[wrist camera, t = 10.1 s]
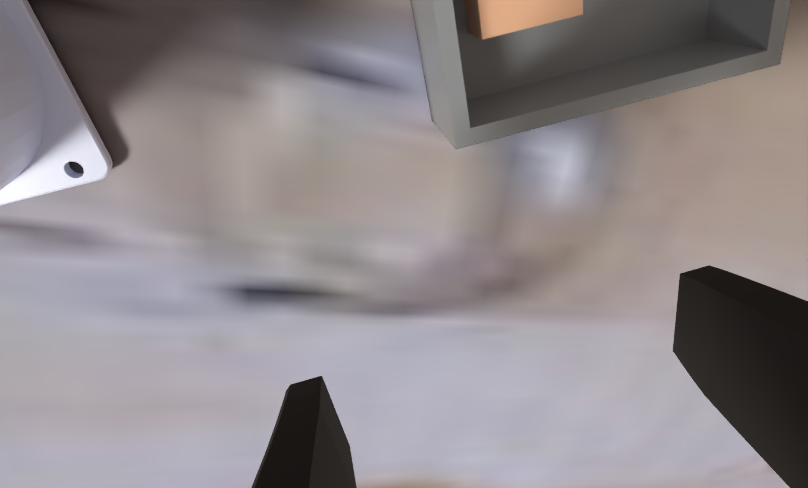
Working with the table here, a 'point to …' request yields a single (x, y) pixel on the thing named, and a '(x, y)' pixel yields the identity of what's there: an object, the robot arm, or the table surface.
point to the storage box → (579, 56)
